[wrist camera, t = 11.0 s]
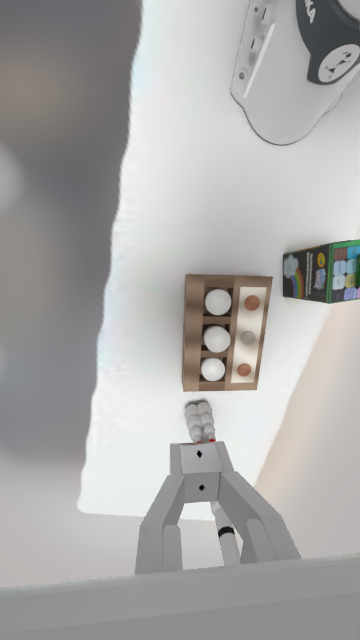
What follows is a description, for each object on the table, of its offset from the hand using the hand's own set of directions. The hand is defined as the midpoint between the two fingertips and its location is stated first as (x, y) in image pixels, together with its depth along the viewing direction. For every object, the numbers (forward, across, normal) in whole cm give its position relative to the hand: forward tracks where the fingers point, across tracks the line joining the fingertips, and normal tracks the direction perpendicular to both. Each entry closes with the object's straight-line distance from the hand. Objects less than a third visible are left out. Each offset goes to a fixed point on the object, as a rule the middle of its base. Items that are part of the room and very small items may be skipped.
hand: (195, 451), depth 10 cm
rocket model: (+29, -6, +22) cm, 37 cm away
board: (+29, -10, +2) cm, 31 cm away
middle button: (+26, -8, +2) cm, 28 cm away
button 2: (+28, -8, -5) cm, 29 cm away
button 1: (+28, -8, +9) cm, 30 cm away
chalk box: (+29, -27, -11) cm, 41 cm away
